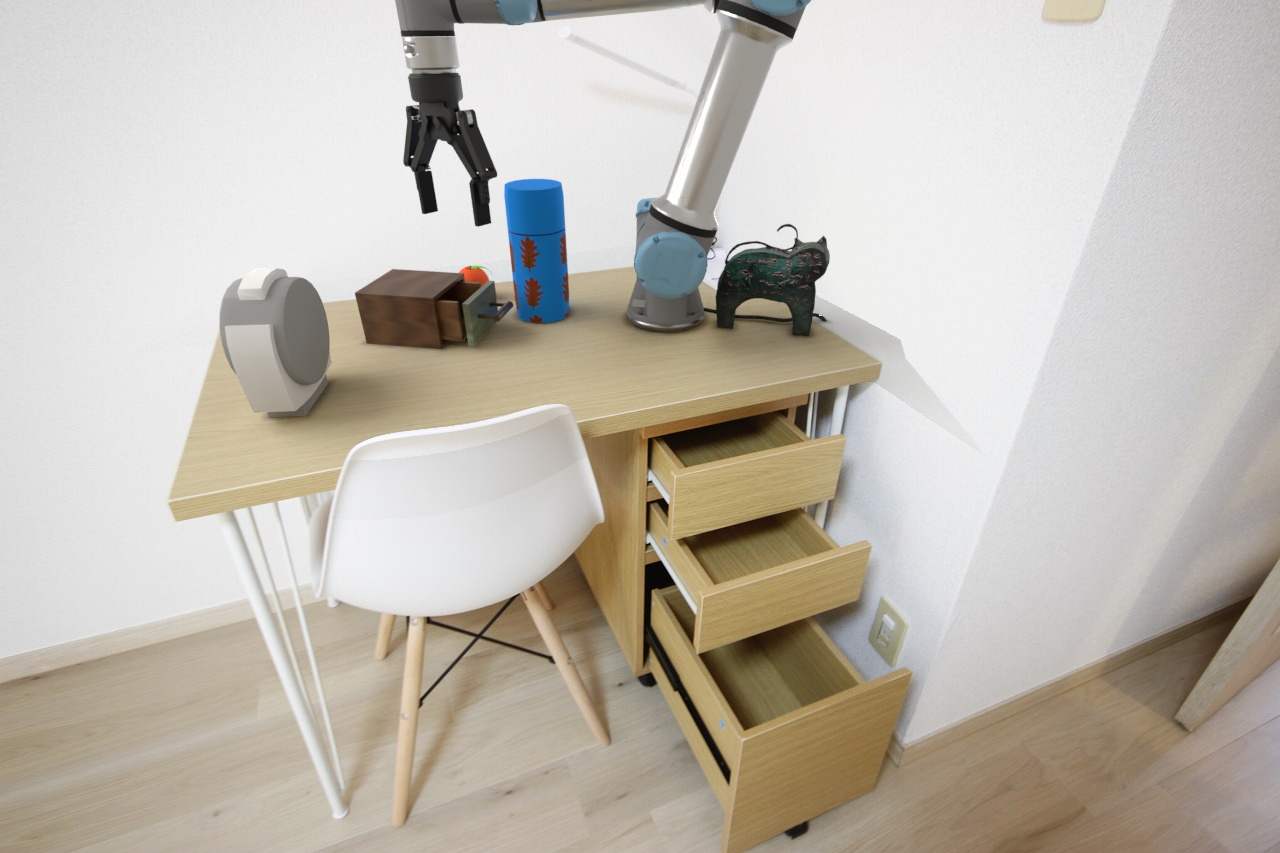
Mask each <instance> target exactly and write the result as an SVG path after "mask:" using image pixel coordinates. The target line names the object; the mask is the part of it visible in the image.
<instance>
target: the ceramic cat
mask: <svg viewBox="0 0 1280 853" xmlns="http://www.w3.org/2000/svg"><path fill="white" fill-rule="evenodd" d="M787 227H788V228H791V229H794V232H795V233H796V237H794V243H793V245H792V246H791V247H788V248H780V247H777V246H773V245H770V244H768V243H766V242H762V241H759V240H753V241H752V240H751V241H750V240H749V241H743V242H740V243H736V245H734V246H732V248H731V249H730V250H729V252H728V253H727V254H726V257H725V260H724V264H725V265H724V267H723V270H722V271H721V273H720V276H719V277H718V281H717V286H716V293H715V310H716V314H715V315H716V327H717V328H718V329H728V330H733V329H734V324H735V319H736V318H735V314H736V312H737V309H738V308H739V307H740V306H741V305H742V304H744V303H745V302H747V301H750V300H754V299H755V300H756V299H762V300H768V301H773V302H777V303H783V304H785V305H786V306H787V308H788V310H789V312H790V315H791V318H792V322H791V323H792V328H791V329H792V330H791V333H792V334H791V335H794V336H798V335H801V336H808V337H809V336H810V333H811V328H812V323H813V318H814V317H813V313H814V310H815V305H816V296H817V295H816V293H817V289H816V282H817V281H818V280H820V279H821V278H822V277H823V276H824V275H825V274H826V272H827V270H828V267H829V264H830V258H831V255H830V254H831V253H830V250H829V248H828V240H827V237H825V235H823V236H821V237H820V238H819V239H818V240H816V241H806V242H803V241H801V239H799V232H798V229H797V227H795V226H794V225H793V224H791V223H784V224H782V225H780V226H779V227H778V228H777V229H776V232H777V233H779V231H781V230H782V229H783V228H787ZM752 244H759V245H762V246H764V247H758V248H745V249H743V250H742V251H739V252H737V253H735V254H734V255H733V256H732V257H730V255H731V254H732V252H734V251H735V250H737V248H739V247H741V246H745V245H752ZM729 257H730V258H729Z"/></svg>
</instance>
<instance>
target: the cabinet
mask: <svg viewBox="0 0 1280 853" xmlns="http://www.w3.org/2000/svg"><path fill="white" fill-rule="evenodd" d="M459 281H465V278H464V273H459V272H448V271H431V270H415V269H402V268H401V269H400V268H399V269H396V268H392V269H390V270H389V271H387V272H385V273H384V274H382V275H381V276H379V277H378V278H376V279H374V280H372V281H371V282H369V283H367V284H366V285H364V286H363V287H362V288H360V289H358V290H357V291H355V292H354V296H355V300H356V304H357V308H358V313H359V317H360V321H361V326H362V329H363V334H364V338H365V342H366V344H374V345H387V346H399V347H411V348H423V349H425V348H426V349H437V350H441V349H443V348H444V347H445V346H446V345H447V344H448V343H449V342H450V341H451V340H442V338H441V332H440V326H439V320H438V314H437V309H436V303H435V301H436V300H437V299H438V298H439V297H441V296H442V295H443V294H444V293H446V292H447V291H448V290H449V289H451V288H452V287H453V286H454V285H455V284H457V283H458V282H459Z"/></svg>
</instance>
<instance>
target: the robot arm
mask: <svg viewBox="0 0 1280 853" xmlns="http://www.w3.org/2000/svg"><path fill="white" fill-rule="evenodd" d="M394 1H395V8H396V14H397V20H398V24H399V29H400V37H401V40H402V46H403V54H404V58H405V65H406V68H407V69H408V70H411V73H409V74H408V76H407V80H408V85H409V86H408V87H409V91H410V97H411V100H412V101H413V102H415V103H418V104H414V105H412V104H411V105H406V106H405V114H406V115H405V116H406V129H405V140H404V149H403V160H402V162H403V165H404V167H409V168H410V171H412V172H413V173H414V175H413V176H414V180H415V185H416V189H417V193H418V198H419V204H420V209H421V214H422V215H427V214H432V213H436V212H439V207H438V202H437V197H436V196H437V195H436V189H435V184H434V178H433V172H432V167H431V166H430V163H431V159H432V158H433V157H432V156H433V154H434V151H435V149H436V146H437V144H438V141H439V140H440V141H441V142H446V143H447V145H450V147H452V148H453V150H454V152H455V154H456V155H457V157H458V158H459V160H460V162H461V163H462V165H463V167H464V168H465V170H466V172H467V173H468V175H469V177H470V181H469V183H468V185H469V193H470V200H471V207H472V214H473V220H474V226H475V227H478V228H479V227H483V226H486V225H491V224H492V217H491V209H490V204H491V197H490V196H491V195H490V187H489V181H490V180H493V179H494V178H497V177H498V171H497V169H496V166H495V164H494V161H493V159H492V157H491V154H490V152H489V150H488V147H487V145H486V142H485V140H484V138H483V134H482V132H481V130H480V128H479V124H478V118H477V115H476V114H477V113H476V111H475V109H463V110H462V109H461V108H460V104H459V103H460V101H462V100H463V98H464V92H463V84H462V78H461V74H460V73H459V72H457V71H456V70H457V69H459V68H460V58H459V53H458V52H459V51H458V45H457V39H456V32H455V24H459V25H460V24H461V25H462V24H463V25H464V24H484V25H485V24H486V25H488V24H489V25H494V24H495V25H508V26H522V25H525V24H531V23H532V24H533V23H542V22H549V21H562V20H572V19H582V18H584V19H585V18H594V17H604V16H606V17H607V16H616V15H617V16H618V15H626V14H627V15H628V14H636V13H637V14H638V13H648V12H659V11H670V10H682V9H692V8H702V7H703V8H704V9H706V11H708V12H709V14H716V17H717V21H718V23H719V27H720V31H719V34H718V37H717V40H716V43H715V45H714V49H713V52H712V54H711V58H710V60H709V63H708V66H707V69H706V72H705V75H704V78H703V80H702V84H701V87H700V90H699V92H698V96H697V98H696V100H695V104H694V107H693V110H692V114H691V116H690V119H689V122H688V124H687V128H686V131H685V133H684V136H683V140H682V143H681V145H680V148H679V150H678V153H677V157H676V160H675V163H674V165H673V168H672V172H671V175H670V177H669V180H668V183H667V186H666V189H665V192H664V194H662V195H661V196H659V197H648V198H647V197H646V198H642V199H640V200H639V201H638V202H637V204H636V212H635V218H636V240H635V252H634V253H635V254H634V257H633V267H634V271H635V274H636V280H635V283H634V287H633V290H632V292H631V295H630V298H629V302H628V305H627V314H626V315H627V320H628V322H629V323H630V324H632V325H633V326H634V327H637V328H639V329H643V330H647V331H650V332H651V331H652V332H657V333H658V332H659V333H675V332H676V333H677V332H683V331H688V330H692V329H694V328H696V327H698V326H700V325H701V324H702V323H703V321H704V320H705V312H706V313H709V314H714V315H716V309H713V308H709V307H704V303H703V299H702V296H701V293H700V289H699V287H700V286H701V284H703V281H704V279H705V276H706V274H707V270H708V269H707V268H708V255H709V252H710V250H711V247H712V246H713V243H714V240H715V237H716V236H717V232H718V229H719V226H720V225H719V223H718V220H717V217H716V214H715V212H716V209H717V207H718V204H719V202H720V199H721V196H722V194H723V191H724V189H725V186H726V183H727V181H728V178H729V176H730V174H731V171H732V168H733V166H734V163H735V160H736V158H737V155H738V153H739V151H740V147H741V145H742V142H743V139H744V137H745V134H746V132H747V129H748V127H749V124H750V121H751V119H752V117H753V114H754V111H755V109H756V106H757V103H758V101H759V98H760V95H761V93H762V91H763V88H764V85H765V83H766V80H767V78H768V75H769V72H770V70H771V67H772V65H773V62H774V61H775V60H774V59H775V57H776V54H777V53H778V51H780V49H782V48H784V47H786V46H789V45H790V44H791V43H793V40H794V38H795V35H796V32H797V30H798V28H799V25H800V22H801V20H802V17H803V15H804V12H805V10H806V7H807V6H808V5H809V4H810V3H811V1H812V0H394ZM819 314H820V313H817V312H813V317H812V318H818V319H819V320H821V321H822V322H827V321H828V320H827V318H826V317H825V316H823V315H822V316H819ZM734 319H738V320H760V321H761V320H762V321H770V322H776V323H792V317H786V318H784V317H783V318H782V317H774V316H767V315H758V314H757V315H756V314H736V313H735V318H734Z"/></svg>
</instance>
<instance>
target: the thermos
mask: <svg viewBox="0 0 1280 853" xmlns="http://www.w3.org/2000/svg"><path fill="white" fill-rule="evenodd" d="M503 188H504V189H503V190H504V192H503V193H504V196H503V197H504V206H505V215H506V225H507V226H506V227H507V235H508V245H509V254H510V264H511V273H512V274H511V275H512V283H513V284H512V285H513V292H514V300H515V302H514V303H515V307H516V314H517V317H518V318H519V319H520V320H521V321H524V322H526V323H532V324H549V323H555V322H559V321H561V320H564V319H566V318H567V317H568V316H569V315H570V287H569V286H570V284H569V269H568V268H569V266H568V265H569V264H568V250H567V249H568V248H567V234H566V232H567V231H566V215H565V200H564V198H565V197H564V189H563V184H562V182H561V181H558V180H556V179H549V178H524V179H523V178H522V179H517V180H516V179H515V180H511V181H507V182H506V183H504V187H503Z"/></svg>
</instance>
